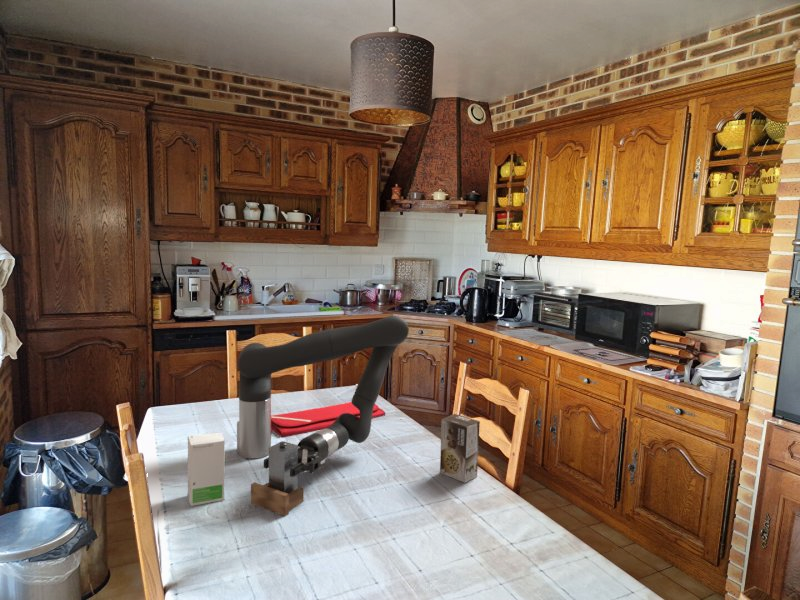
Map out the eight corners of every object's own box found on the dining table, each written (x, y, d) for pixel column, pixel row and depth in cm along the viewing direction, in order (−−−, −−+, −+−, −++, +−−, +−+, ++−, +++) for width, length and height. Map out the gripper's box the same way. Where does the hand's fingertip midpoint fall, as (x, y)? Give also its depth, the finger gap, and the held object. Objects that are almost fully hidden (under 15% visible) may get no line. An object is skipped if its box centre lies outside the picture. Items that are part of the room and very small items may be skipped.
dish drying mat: (386, 416, 192) (386, 407, 192) (282, 439, 168) (282, 428, 168) (363, 405, 205) (364, 395, 204) (264, 424, 181) (264, 414, 180)
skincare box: (189, 507, 125) (188, 445, 123) (187, 494, 131) (185, 435, 129) (226, 499, 129) (225, 440, 127) (221, 488, 134) (221, 430, 132)
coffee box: (478, 476, 145) (481, 421, 143) (464, 483, 141) (467, 426, 139) (452, 465, 152) (454, 412, 150) (438, 472, 147) (440, 418, 145)
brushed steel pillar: (268, 501, 128) (268, 444, 127) (282, 493, 133) (282, 437, 131) (284, 507, 126) (284, 449, 124) (297, 498, 130) (297, 442, 129)
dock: (251, 503, 127) (250, 484, 127) (272, 490, 134) (272, 472, 133) (285, 516, 122) (285, 496, 121) (305, 502, 129) (306, 483, 128)
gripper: (298, 427, 144) (255, 447, 129) (340, 438, 137) (300, 461, 123) (298, 453, 144) (256, 476, 130) (339, 465, 138) (300, 491, 124)
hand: (277, 468), depth 126 cm, fingers open, 8 cm apart
